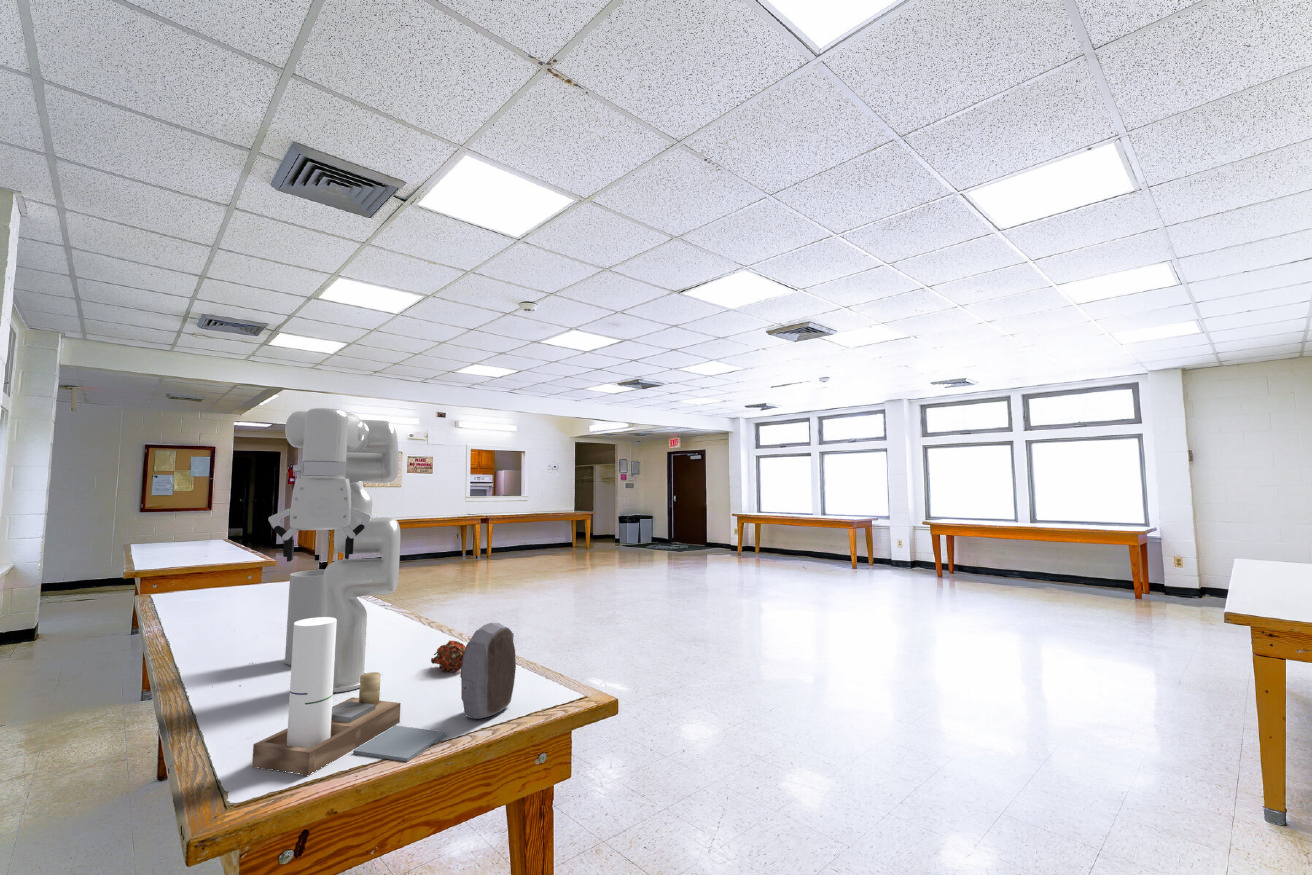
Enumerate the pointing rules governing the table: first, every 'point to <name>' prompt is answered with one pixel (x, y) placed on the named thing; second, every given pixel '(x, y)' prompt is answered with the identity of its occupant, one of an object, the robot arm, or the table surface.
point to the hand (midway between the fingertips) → (318, 559)
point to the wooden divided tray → (333, 732)
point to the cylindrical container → (311, 682)
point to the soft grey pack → (488, 671)
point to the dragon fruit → (449, 656)
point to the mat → (400, 743)
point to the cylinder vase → (304, 602)
